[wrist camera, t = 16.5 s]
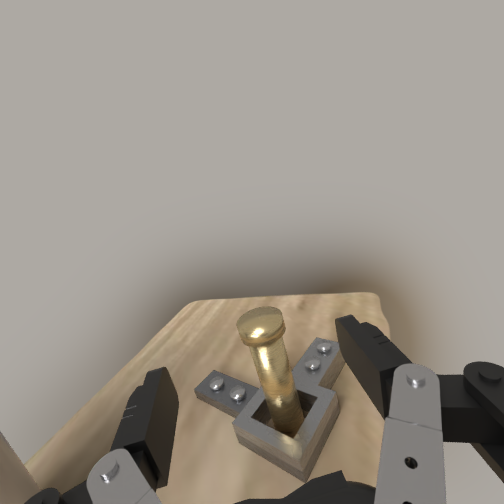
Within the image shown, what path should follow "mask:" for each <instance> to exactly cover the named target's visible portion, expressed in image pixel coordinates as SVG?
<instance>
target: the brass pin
mask: <svg viewBox="0 0 504 504" xmlns="http://www.w3.org/2000/svg"><path fill="white" fill-rule="evenodd" d="M237 328H238V331H239V335H240V338H241V341H242V342H243V343H244V344H245V345H247V346H249V348H250V351H251V354H252V357H253V360H254V364H255V367H256V370H257V373H258V376H259V380H260V383H261V386H262V389H263V392H264V396H265V399H266V402H267V405H268V408H269V411H270V415H271V418H272V421H273V424H274V427H275V430H276V431H278V432H280V433H282V434H284V435H286V436H288V437H290V438H292V439H294V437H295V436H296V434H297V432H298V431H299V429H300V427H301V425H302V424H303V422H304V416H303V412H302V408H301V405H300V401H299V397H298V393H297V390H296V386H295V382H294V378H293V375H292V371H291V367H290V364H289V360H288V356H287V352H286V349H285V345H284V341H283V337H282V336H283V334H284V332H285V329H286V328H285V323H284V320H283V316H282V312H281V311H280V310H279V309H277V308H275V307H259V308H255V309H253V310H250V311H248V312H246V313H245V314H244V315H242V316H241V317H240V318H239V320H238V322H237Z"/></svg>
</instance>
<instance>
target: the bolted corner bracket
mask: <svg viewBox="0 0 504 504" xmlns="http://www.w3.org/2000/svg"><path fill="white" fill-rule="evenodd" d="M344 364H345V360H344V358H343V356H342V354H341V351H340V348H339V343H338V342H335V341H330V340H326V339H321V338H317V337H316V339H315V340H314V341H313V343H312V344H311V345H310V347H309V348H308V350H307V351H306V352H305V354H304V355H303V356H302V358H301V359H300V360H299V362H298V363H297V365H296V366H295V367H294V369H293V370H292V375H293V378H294V382H295V386H296V390H297V393H298V397H299V401H300V405H301V408H302V409H304V410H306V411H309V413H308V415H307V417H306V418H305V420H304V422H303V424H302V425H301V427H300V429H299V431H298V432H297V434H296V436H295V437H294V439H292V438H290V437H288V436H286V435H284V434H282V433H280V432H278V431H276V430H274V429H272V428H270V427H268V426H266V424H267V422H268V421H269V419H270V418H271V415H270V411H269V408H268V405H267V402H266V399H265V396H264V392H263V389H262V386H261V387H260V389H259V388H256V387H254V386H251V385H249V384H247V383H244V382H242V381H239V380H237V379H234V378H232V377H230V376H227V375H225V374H222V373H220V372H217V371H215V370H213V371H212V372H211V373H210V374H209V375H208V376H207V377H206V378H205V379H204V380H203V381H202V382H201V383H200V384H199V385H198V386H197V387H196V388H195V389H194V391H195V393H196V396H197V398H199V399H201V400H203V401H204V402H206V403H208V404H210V405H212V406H214V407H216V408H217V409H219V410H221V411H223V412H225V413H227V414H229V415H231V416H232V417H234V418H236V419H235V420H234V421H233V422H232V424H233V427H234V430H235V433H236V436H237V438H238V441H239V443H240V444H242V445H244V446H245V447H247V448H249V449H250V450H252V451H253V452H255V453H257V454H258V455H260V456H262V457H263V458H265V459H267V460H268V461H270V462H272V463H273V464H275V465H277V466H278V467H280V468H282V469H283V470H285V471H286V472H288V473H290V474H291V475H293V476H295V477H296V478H298V479H300V480H301V481H303V482H305V483H306V481H307V479H308V477H309V475H310V473H311V471H312V469H313V467H314V465H315V463H316V461H317V459H318V457H319V455H320V452H321V450H322V448H323V446H324V444H325V442H326V440H327V438H328V436H329V434H330V432H331V430H332V428H333V425H334V423H335V421H336V419H337V417H338V415H339V413H340V409H339V404H338V399H337V394H336V391H333V390H330V389H331V388H332V386H333V384H334V382H335V380H336V379H337V377H338V375H339V373H340V371H341V369H342V368H343V366H344Z"/></svg>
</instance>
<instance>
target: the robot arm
mask: <svg viewBox="0 0 504 504" xmlns="http://www.w3.org/2000/svg"><path fill="white" fill-rule="evenodd" d="M335 325H336V331H337V337H338V343H339V348H340V351H341V354H342V356H343V358H344V360H345V362H346V363H347V365H348V366H349V368H350V369H351V371H352V372H353V374H354V375H355V377H356V378H357V380H358V381H359V383H360V384H361V386H362V387H363V389H364V390H365V392H366V393H367V395H368V396H369V398H370V399H371V401H372V402H373V404H374V405H375V407H376V408H377V410H378V411H379V413H380V414H381V416H382V417H383V419H384V420H385V424H384V432H383V439H382V447H381V455H380V462H379V470H378V478H377V485H376V488H375V487H372V486H370V485H367V484H363V483H359V482H352V481H346V480H345V477H344V475H343V473H342V470H340V471H337V472H334V473H331V474H327V475H324V476H321V477H318V478H315V479H312V480H310V481H309V482H307V483H306V484H304V485H303V486H301V487H300V488H298V489H297V490H295V491H294V492H292V493H291V494H289V495H288V496H286V497H284V498H282V499H247V500H244V501H241V502H238V503H234V504H446V490H445V471H444V452H443V442H463V443H464V442H465V443H470V444H471V445H472V446H473V447H474V448H475V449H476V451H477V452H478V453H479V454H480V455H481V457H482V458H483V459H484V460H485V461H486V463H487V464H488V465H489V466H490V467H491V468H492V470H493V471H494V472H495V473H496V474H497V476H498V477H499V478H500V479H501V480H502V482H503V483H504V368H503V367H501V366H499V365H496V364H493V363H489V362H472V363H470V364H468V365H466V366H465V368H464V375H437V374H435V373H434V372H433V371H432V370H431V369H429V368H427V367H425V366H422V365H419V364H413V363H412V362H411V361H410V360H409V359H408V358H407V357H406V356H405V355H404V354H403V353H402V352H401V351H400V350H399V349H398V348H397V347H396V346H395V345H394V344H393V343H392V342H390V340H389V339H388V338H387V337H386V336H384V334H383V333H382V332H381V331H380V330H379V329H378V328H377V327H376V326H374V325H372V324H369V323H367V322H364V323H361V324H360V323H359V322H358V321H357V320H356V319H355V317H354V316H353V315H347V316H344V317H340V318H337V319H335ZM178 408H179V401H178V395H177V392H176V389H175V387H174V384H173V382H172V380H171V377H170V375H169V372H168V370H167V368H166V367H162V368H159V369H155V370H152V371H148V372H147V374H146V377H145V380H144V384H143V385H142V386H138V387H137V388H136V389H135V391H134V392H133V393H132V395H131V396H130V398H129V400H128V403H127V406H126V410H125V411H124V414H123V419H121V422H120V425H119V428H118V430H117V433H116V436H115V439H114V441H113V444H112V447H111V450H110V452H109V453H107V454H106V455H105V456H103V457H102V458H101V459H100V460H99V461H98V462H97V463H96V464H95V465H94V467H93V468H92V470H91V471H90V473H89V475H88V478H87V480H86V481H84V482H83V483H81V484H79V485H78V486H76V487H74V488H73V489H71V490H69V491H68V492H66V493H64V494H63V495H61V494H60V493H59V492H58V490H57V489H55V488H48V489H44V490H41V489H40V488H39V486H38V485H37V483H36V482H35V480H34V479H33V478H32V476H31V475H30V473H29V472H28V470H27V469H26V467H25V466H24V465H23V463H22V462H21V460H20V459H19V457H18V456H17V455H16V453H15V452H14V450H13V449H12V448H11V446H10V445H9V443H8V442H7V440H6V439H5V437H4V436H3V434H2V433H1V432H0V504H162V503H161V501H160V500H159V498H158V497H157V495H156V489H158V488H161V487H164V486H167V483H168V476H169V469H170V463H171V456H172V449H173V442H174V436H175V429H176V422H177V415H178Z"/></svg>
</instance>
